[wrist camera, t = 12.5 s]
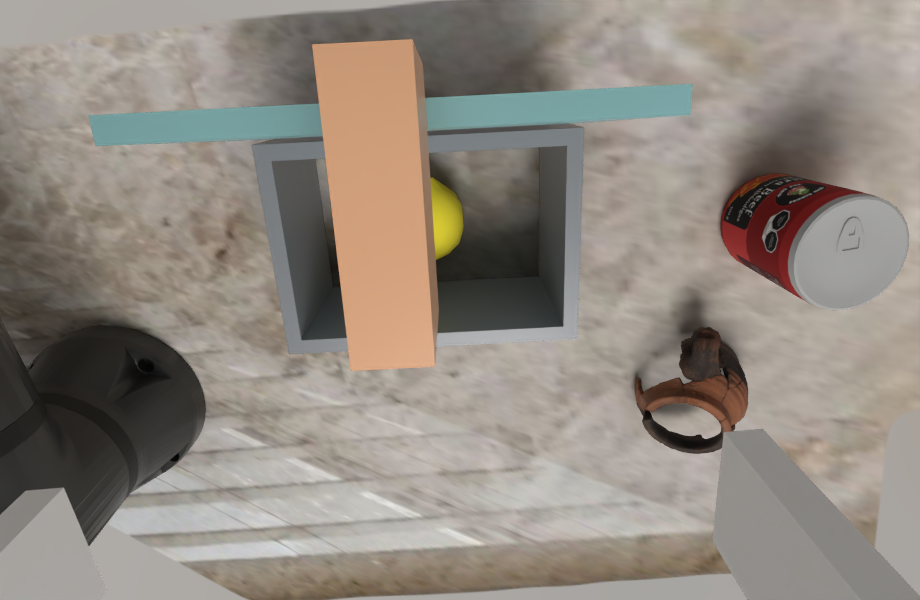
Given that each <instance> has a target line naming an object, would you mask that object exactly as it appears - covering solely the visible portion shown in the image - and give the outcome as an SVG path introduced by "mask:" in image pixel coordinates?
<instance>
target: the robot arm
mask: <svg viewBox="0 0 920 600" xmlns="http://www.w3.org/2000/svg"><path fill="white" fill-rule="evenodd" d="M204 420H205V401H204V396H203V392H202V389H201V387H200V384H199V382H198V380H197V378H196V376H195V375H194V373H193V372H192V370H191V369H190V367H189V366H188V365H187V364H186V363H185V361H184V360H183V359H182V358H181V357H180V356H179V355H178V354H176V353H175V352H174V351H173V350H172V349H170V348H169V347H168V346H166V345H165V344H163V343H162V342H160V341H158V340H156V339H154V338H153V337H150V336H148V335H146V334H143V333H141V332H138V331H135V330H131V329H127V328H122V327H115V326H96V327H89V328H84V329H80V330H77V331H75V332H72V333H70V334H68V335H66V336H65V337H63V338H61V339H60V340H58V341H57V342H55V343H54V344H52V345H50V346H49V347H47V348H46V349H45V350H43V351H42V352H41V353H40V354H39V355H38V356H37V357H36V358H35V359H34V360H33V362H32V363H31V365H30V366H29V368H28V370H27V369H26V367H25V365H24V363H23V361H22V359H21V357H20V355H19V354H18V352H17V350H16V348H15V346H14V344H13V342H12V340H11V338H10V336H9V334H8V332H7V330H6V328H5V326H4V324H3V322H2V320H1V318H0V600H101V599H102V597H103V595H104V594H105V593H106V591H107V589H106V586H105V584H104V581H103V579H102V577H101V574H100V572H99V570H98V567H97V565H96V563H95V560H94V558H93V555H92V553H91V551H90V548H89V546H90V544H91V543H92V542H93V541H94V539H95V538H96V537H97V535H98V534H99V533H100V531H101V530H102V529H103V528H104V526H105V525H106V524H107V522H108V521H109V520H110V519H111V517H112V516H113V515H114V513H115V512H116V511H117V509H118V508H119V507H120V506H121V504H122V503H123V502H124V500H125V499H126V498H127V497H128V495H129V494H130V493H131V492H133V491H134V490H136V489H138V488H139V487H141V486H143V485H144V484H146V483H147V482H149V481H151V480H152V479H154V478H156V477H157V476H159V475H161V474H162V473H164V472H166V471H167V470H169V469H170V468H172V467H173V466H174V465H176V464H177V463H178V462H179V461H180V460H181V459H182V458H183V457H184V456H185V455H186V453H187V452H188V451H189V449H190V448H191V447H192V445H193V444H194V443H195V441H196V440H197V438H198V437H199V435H200V433H201V430H202V428H203V424H204ZM712 541H713V543H714V544H715V546H716V548H717V549H718V551H719V553H720V554H721V556H722V558H723V559H724V561H725V563H726V564H727V566H728V568H729V570H730V571H731V573H732V575H733V576H734V578H735V580H736V581H737V583H738V585H739V586H740V588H741V590H742V591H743V593H744V595H745V596H746V598H747V600H920V596H919V595H918V594H917V592H916V591H914V589H913V588H912V587H911V586H910V585H909V584H908V583H907V582H906V581H905V580H904V579H903V578H902V577H901V575H900V574H898V572H897V571H896V570H895V569H894V568H893V567H892V566H891V565H890V564H889V563H888V562H887V561H886V560H885V558H884V557H883V556H882V555H881V554H880V553H879V552H878V551H877V550H876V549H875V548H874V547H873V546H872V545H871V544H870V543H869V541H868V540H867V539H866V538H865V537H864V536H863V535H862V534H861V533H860V532H859V531H858V530H857V529H856V528H855V527H854V526H853V524H852V523H851V522H850V521H849V520H848V519H847V518H846V517H845V516H844V515H843V514H842V513H841V512H840V511H839V510H838V508H837V507H836V506H835V505H834V504H833V503H832V502H831V501H830V500H829V499H828V498H827V497H826V496H825V495H824V494H823V493H822V491H821V490H820V489H819V488H818V487H817V486H816V485H815V484H814V483H813V482H812V481H811V480H810V479H809V478H808V477H807V476H806V474H805V473H804V472H803V471H802V470H801V469H800V468H799V467H798V466H797V465H796V464H795V463H794V462H793V461H792V460H791V459H790V457H789V456H788V455H787V454H786V453H785V452H784V451H783V450H782V449H781V448H780V447H779V446H778V445H777V444H776V443H775V442H774V440H773V439H772V438H771V437H770V436H769V435H768V434H767V433H766V432H765V431H764V430H763V429H756V430H744V431H732V432H724V434H723V444H722V453H721V463H720V472H719V482H718V491H717V501H716V510H715V520H714V529H713V539H712Z"/></svg>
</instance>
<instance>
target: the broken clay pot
mask: <svg viewBox="0 0 920 600" xmlns="http://www.w3.org/2000/svg"><path fill="white" fill-rule="evenodd" d="M681 344H682V345H681V348H682V354H681V356H680V362H679V366H680V368H681V370H682V373H683V375H684V376H685V377H686V378H687V379H690V380H692V381H691V382H690V383H686V384H683V383H682V381H681V379H680V378H675V379H672V380H669V381H666V382H662V383H660V384H658V385H656V386H654V387H651V388H649V389H647V390H646V391H645V392H643V390H642V385H641V383H642V382H641V379H639V378H637V379H636V384H635V395H636V401H637V406H638V408H639V409H640V411H641V413H642V415H643V420H642V422H643V425H644V427H645V429H646V430H647V431H648V433H649V434H650V435H651V436H652V437H653V438H654V439H656V440H657V441H659V442H660V443H663V444H664V445H666V446H668V447H670V448H672V449H676V450H678V451H681V452H687V453H693V454H694V453H695V454H700V453H709V452H714V451H716V450H719V449H721V448H722V444H723V434H724V432H732V431H733V430H734V429H735V424H736V423H737V422H739V421H740V420H741V419H742V418H743V417H744V416H745V413H746V409H747V406H748V387H747V381H746V378H745V374H744V372H743V370H742V368H741V366H740V364H739V361H738V358H737V356H736V354H735V353H734V352H733V351H732V350H731V348H730V347H728V346H727V345H726V344H724V343H722V342H720V335H719V333H718V332H717V331H715V330H713V329H712V328H710V327H706V328H703V327H701V328H698V329H696V330H695V331H694V333H693V335H692V337H691V338H688V339H685V340H684V341H682V342H681ZM720 368H723V371H724V375H725V376H724V375H722V374H721V370H720ZM672 403H687V404H690V405H694V406H697V407H699V408H702V409H704V410H706V411H708V412H709V413H711V414H712V415H713V416H714V417H715V418H716V419H717V420H718V421H719V422H720V424H721V432H720V433H719V434H718V435H716V436H715V437H712V438H709V439H704V438H702V436H701V435H696V436H684V435H681V434H678V433H675V432H670V431H668V430H667V429H666V428H664V427H663V426H661V425H659V424H658V423H656V422H655V421H654V420H653V418H652V415H651V413H650V411H651V412H653V411H655V410H656V409H657V408H659V407H661V406H662V405H666V404H672Z"/></svg>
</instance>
